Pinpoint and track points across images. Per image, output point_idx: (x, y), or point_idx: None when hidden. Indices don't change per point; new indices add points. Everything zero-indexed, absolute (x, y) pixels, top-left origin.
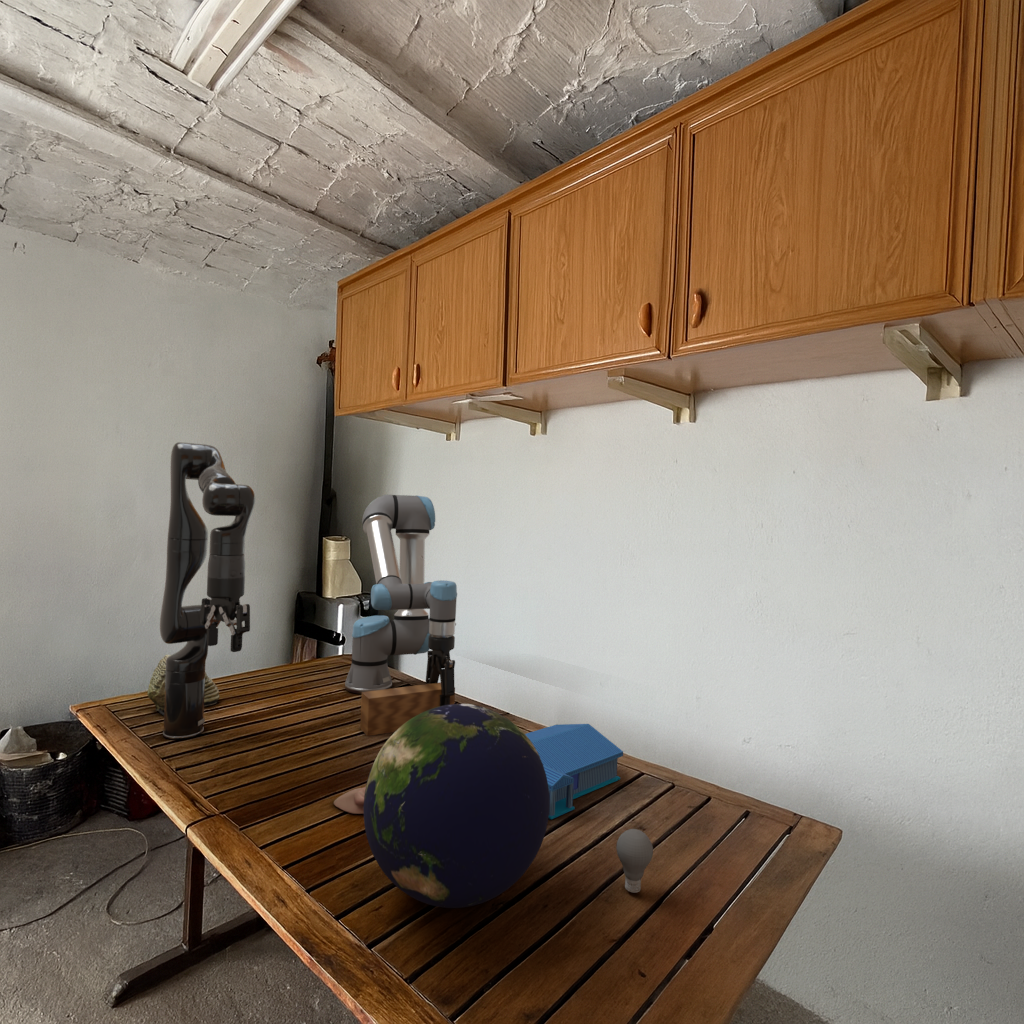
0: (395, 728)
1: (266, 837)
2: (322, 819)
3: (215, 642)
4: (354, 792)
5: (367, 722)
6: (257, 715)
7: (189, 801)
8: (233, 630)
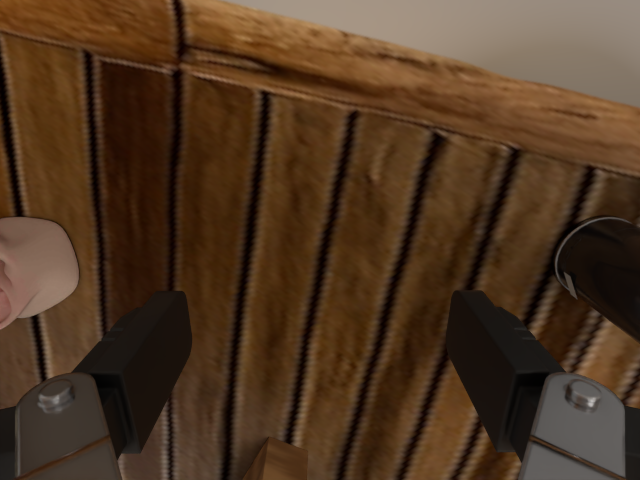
0: (245, 477)
1: (23, 64)
2: (22, 175)
3: (451, 343)
4: (20, 254)
5: (267, 460)
6: None
7: (275, 60)
8: (33, 414)
